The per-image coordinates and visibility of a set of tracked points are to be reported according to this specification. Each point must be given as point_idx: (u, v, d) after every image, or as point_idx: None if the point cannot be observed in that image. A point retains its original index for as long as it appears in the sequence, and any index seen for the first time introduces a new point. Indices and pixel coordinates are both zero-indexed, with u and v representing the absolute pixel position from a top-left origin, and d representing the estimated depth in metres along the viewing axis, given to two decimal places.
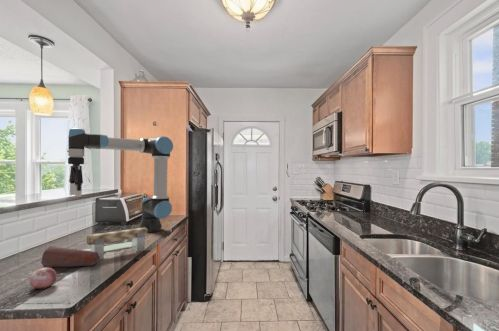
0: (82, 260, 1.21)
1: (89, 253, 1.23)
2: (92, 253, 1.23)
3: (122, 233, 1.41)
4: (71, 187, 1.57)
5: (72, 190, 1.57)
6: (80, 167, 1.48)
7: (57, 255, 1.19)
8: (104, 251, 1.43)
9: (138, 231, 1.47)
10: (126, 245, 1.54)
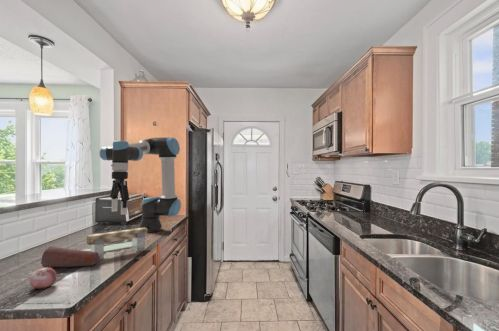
0: (82, 260, 1.21)
1: (89, 253, 1.23)
2: (92, 253, 1.23)
3: (122, 233, 1.41)
4: (113, 203, 1.46)
5: (114, 206, 1.47)
6: (125, 183, 1.38)
7: (57, 255, 1.19)
8: (104, 251, 1.43)
9: (138, 231, 1.47)
10: (126, 245, 1.54)
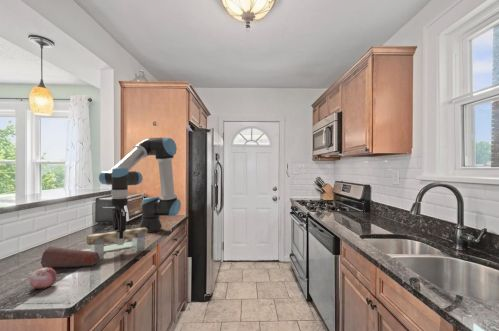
0: (82, 260, 1.20)
1: (89, 253, 1.22)
2: (92, 253, 1.23)
3: None
4: None
5: None
6: (124, 214, 1.38)
7: (57, 255, 1.19)
8: (104, 251, 1.43)
9: (138, 231, 1.47)
10: (126, 245, 1.54)
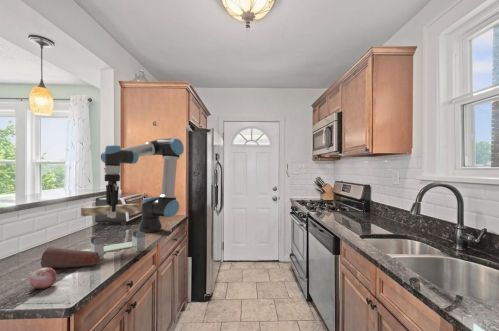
0: (83, 260, 1.20)
1: (89, 253, 1.22)
2: (92, 253, 1.23)
3: None
4: None
5: None
6: (117, 188, 1.47)
7: (57, 256, 1.18)
8: (104, 251, 1.43)
9: (130, 206, 1.55)
10: (126, 245, 1.54)
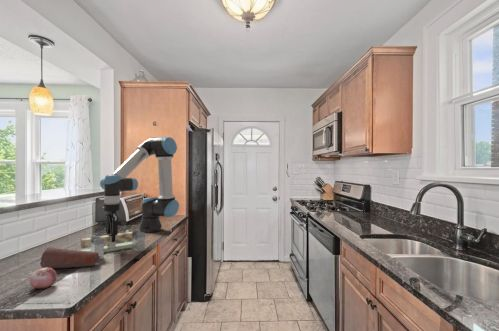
0: (83, 260, 1.20)
1: (89, 253, 1.22)
2: (92, 253, 1.23)
3: None
4: None
5: None
6: (116, 218, 1.46)
7: (57, 256, 1.18)
8: (104, 251, 1.43)
9: (130, 235, 1.55)
10: (126, 245, 1.54)
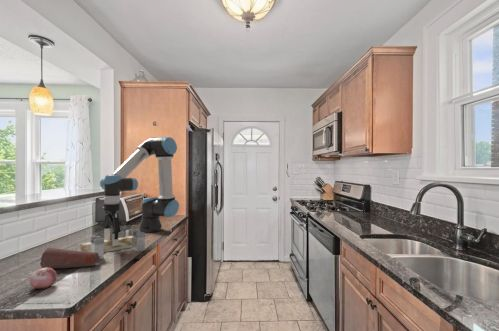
0: (83, 261, 1.20)
1: (89, 254, 1.22)
2: (92, 254, 1.22)
3: None
4: (106, 233, 1.55)
5: (107, 236, 1.55)
6: (117, 215, 1.46)
7: (57, 256, 1.18)
8: (104, 251, 1.43)
9: (129, 239, 1.55)
10: None
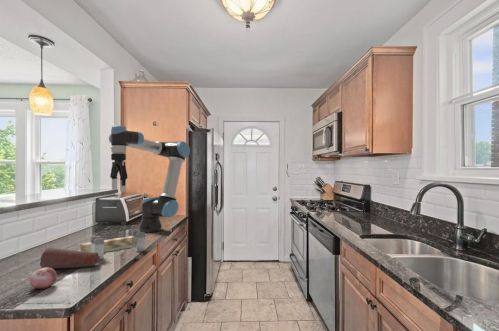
0: (83, 261, 1.19)
1: (89, 254, 1.22)
2: (92, 254, 1.22)
3: (114, 241, 1.50)
4: (113, 182, 1.62)
5: (114, 185, 1.62)
6: (123, 163, 1.53)
7: (57, 256, 1.17)
8: (104, 251, 1.43)
9: (129, 239, 1.55)
10: None
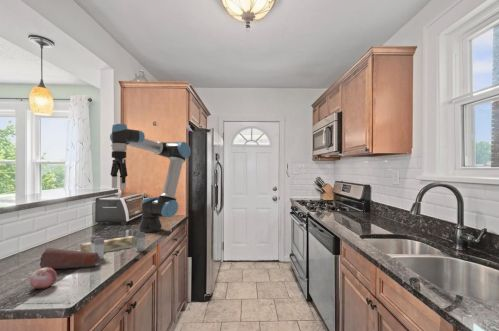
0: (83, 261, 1.19)
1: (89, 254, 1.21)
2: (92, 254, 1.22)
3: (114, 241, 1.50)
4: (113, 180, 1.62)
5: (114, 183, 1.63)
6: (124, 161, 1.54)
7: (57, 256, 1.17)
8: (104, 251, 1.43)
9: (129, 239, 1.55)
10: None
